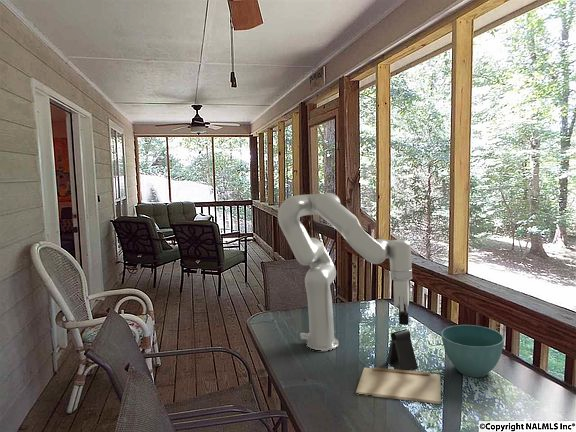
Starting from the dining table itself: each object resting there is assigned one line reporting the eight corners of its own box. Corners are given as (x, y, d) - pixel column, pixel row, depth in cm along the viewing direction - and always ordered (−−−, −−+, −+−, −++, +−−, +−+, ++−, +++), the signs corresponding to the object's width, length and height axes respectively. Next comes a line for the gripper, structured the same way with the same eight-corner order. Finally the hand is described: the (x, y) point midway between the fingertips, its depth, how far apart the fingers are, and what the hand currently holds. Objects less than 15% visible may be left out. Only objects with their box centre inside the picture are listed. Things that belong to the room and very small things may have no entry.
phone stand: (418, 368, 136) (416, 333, 135) (403, 372, 134) (402, 337, 133) (400, 358, 145) (399, 325, 143) (386, 362, 142) (385, 328, 141)
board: (356, 394, 123) (355, 390, 123) (364, 369, 138) (364, 366, 138) (441, 404, 115) (440, 400, 114) (439, 377, 130) (439, 373, 129)
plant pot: (478, 391, 120) (477, 351, 119) (430, 368, 136) (429, 332, 135) (517, 374, 128) (516, 337, 127) (467, 354, 144) (466, 320, 143)
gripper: (392, 269, 154) (394, 316, 156) (388, 279, 140) (391, 331, 142) (412, 269, 152) (415, 317, 154) (411, 279, 138) (413, 332, 139)
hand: (403, 323), depth 148 cm, fingers closed
